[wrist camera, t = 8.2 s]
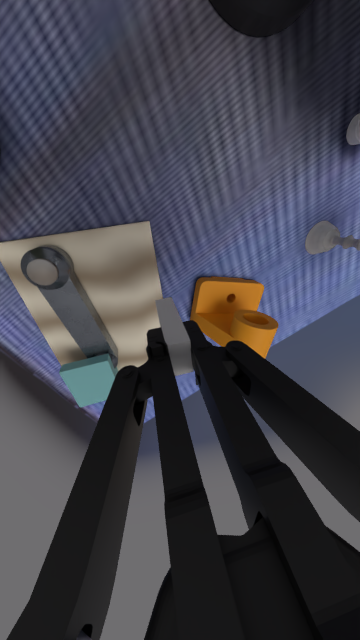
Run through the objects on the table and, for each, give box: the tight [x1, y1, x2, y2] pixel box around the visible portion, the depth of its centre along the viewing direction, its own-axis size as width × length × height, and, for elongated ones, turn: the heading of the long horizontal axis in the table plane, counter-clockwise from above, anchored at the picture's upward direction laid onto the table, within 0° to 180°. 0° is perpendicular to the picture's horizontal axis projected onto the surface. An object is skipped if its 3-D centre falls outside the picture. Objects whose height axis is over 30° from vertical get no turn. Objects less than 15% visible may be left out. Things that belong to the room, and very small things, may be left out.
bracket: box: [190, 276, 278, 358], centre depth 28 cm, size 11×7×12 cm, turn 83°
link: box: [21, 245, 118, 369], centre depth 25 cm, size 18×4×2 cm, turn 15°
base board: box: [0, 221, 163, 371], centre depth 26 cm, size 22×17×5 cm
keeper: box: [59, 353, 118, 407], centre depth 29 cm, size 7×6×5 cm
